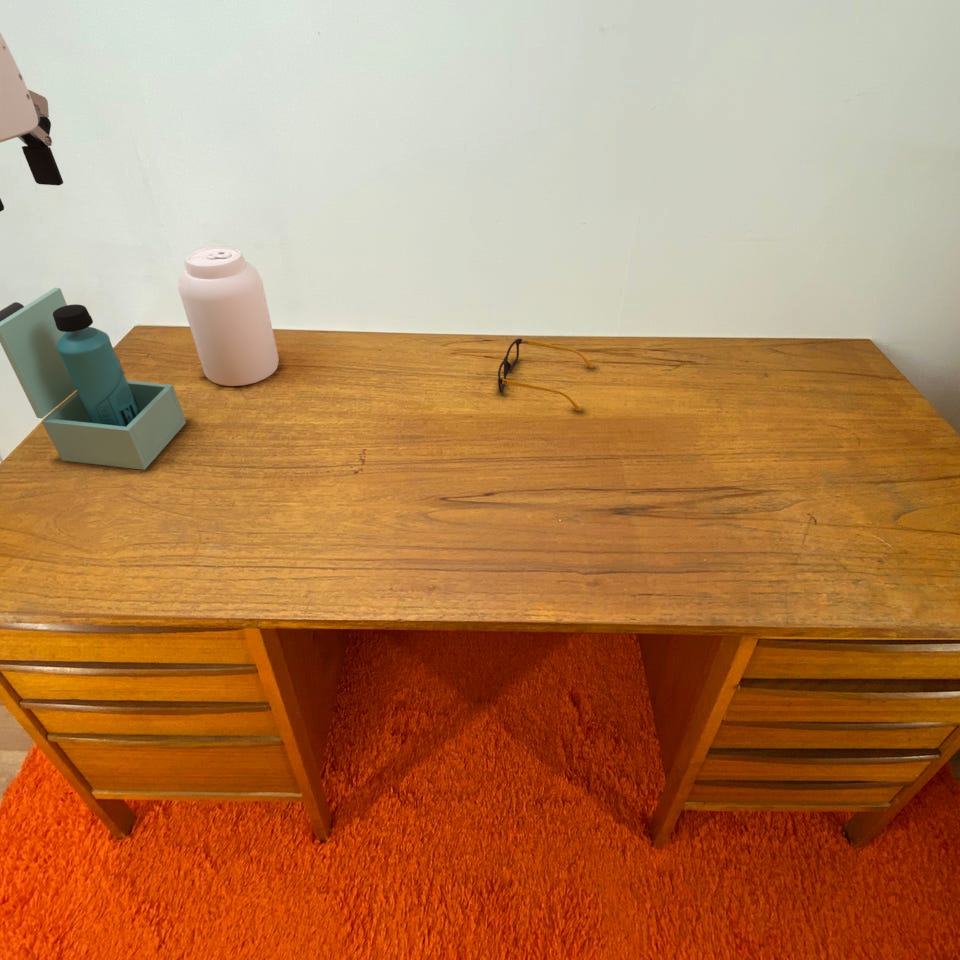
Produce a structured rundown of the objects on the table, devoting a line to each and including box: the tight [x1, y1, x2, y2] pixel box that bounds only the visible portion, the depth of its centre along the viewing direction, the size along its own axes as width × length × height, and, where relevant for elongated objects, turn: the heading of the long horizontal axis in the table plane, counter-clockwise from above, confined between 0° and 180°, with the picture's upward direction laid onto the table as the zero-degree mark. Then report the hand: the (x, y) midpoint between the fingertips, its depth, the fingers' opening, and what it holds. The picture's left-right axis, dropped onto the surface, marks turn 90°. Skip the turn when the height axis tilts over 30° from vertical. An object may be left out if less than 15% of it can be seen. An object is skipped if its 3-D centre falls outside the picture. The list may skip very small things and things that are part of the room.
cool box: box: [41, 379, 187, 471], centre depth 92 cm, size 13×12×7 cm
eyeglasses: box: [497, 337, 594, 412], centre depth 107 cm, size 14×14×4 cm
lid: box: [0, 287, 77, 419], centre depth 86 cm, size 13×12×6 cm
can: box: [178, 245, 280, 387], centre depth 104 cm, size 12×12×20 cm
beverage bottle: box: [53, 303, 141, 427], centre depth 87 cm, size 6×7×20 cm
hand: (21, 196), depth 72 cm, fingers open, 9 cm apart
